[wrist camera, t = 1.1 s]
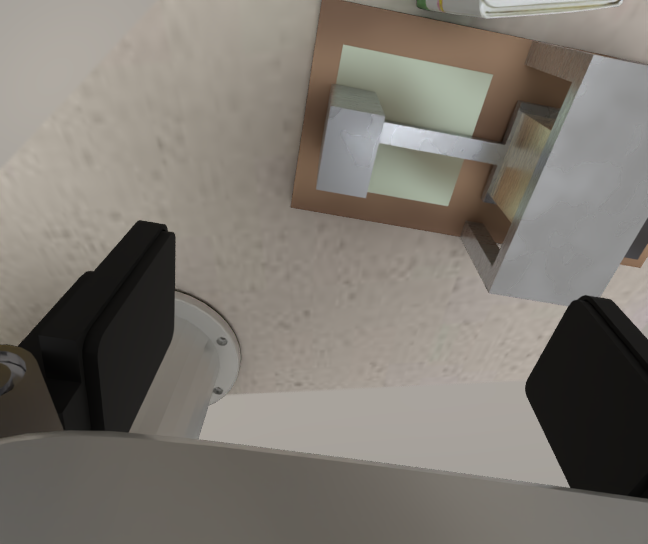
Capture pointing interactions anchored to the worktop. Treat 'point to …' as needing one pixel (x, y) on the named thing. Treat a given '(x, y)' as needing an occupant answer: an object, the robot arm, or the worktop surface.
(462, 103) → the board
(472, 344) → the worktop surface
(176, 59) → the worktop surface
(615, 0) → the ink box
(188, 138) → the worktop surface
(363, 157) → the grey dumbbell
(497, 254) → the tunnel
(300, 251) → the worktop surface
